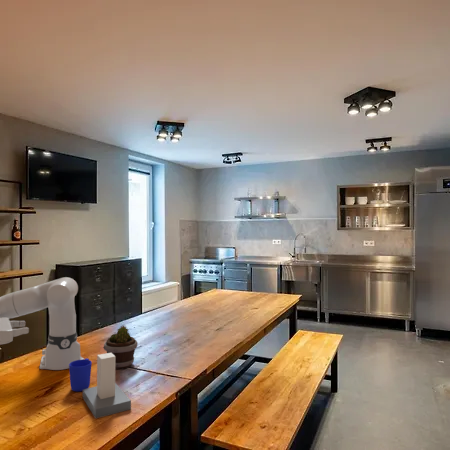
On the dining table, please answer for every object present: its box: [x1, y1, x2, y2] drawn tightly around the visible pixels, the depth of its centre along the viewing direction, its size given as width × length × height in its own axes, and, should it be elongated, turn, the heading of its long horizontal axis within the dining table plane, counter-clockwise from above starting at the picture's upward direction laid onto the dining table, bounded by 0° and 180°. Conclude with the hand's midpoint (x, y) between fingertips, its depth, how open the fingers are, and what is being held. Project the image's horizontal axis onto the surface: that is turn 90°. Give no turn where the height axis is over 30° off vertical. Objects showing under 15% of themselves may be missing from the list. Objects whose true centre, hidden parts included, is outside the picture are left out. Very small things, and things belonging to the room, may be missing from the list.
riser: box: [82, 382, 132, 419], centre depth 134 cm, size 18×12×3 cm, turn 34°
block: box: [96, 352, 116, 399], centre depth 134 cm, size 5×5×14 cm
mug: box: [68, 358, 93, 392], centre depth 148 cm, size 8×12×10 cm
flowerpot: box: [102, 324, 138, 370], centre depth 171 cm, size 14×15×20 cm
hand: (26, 326), depth 124 cm, fingers open, 8 cm apart
